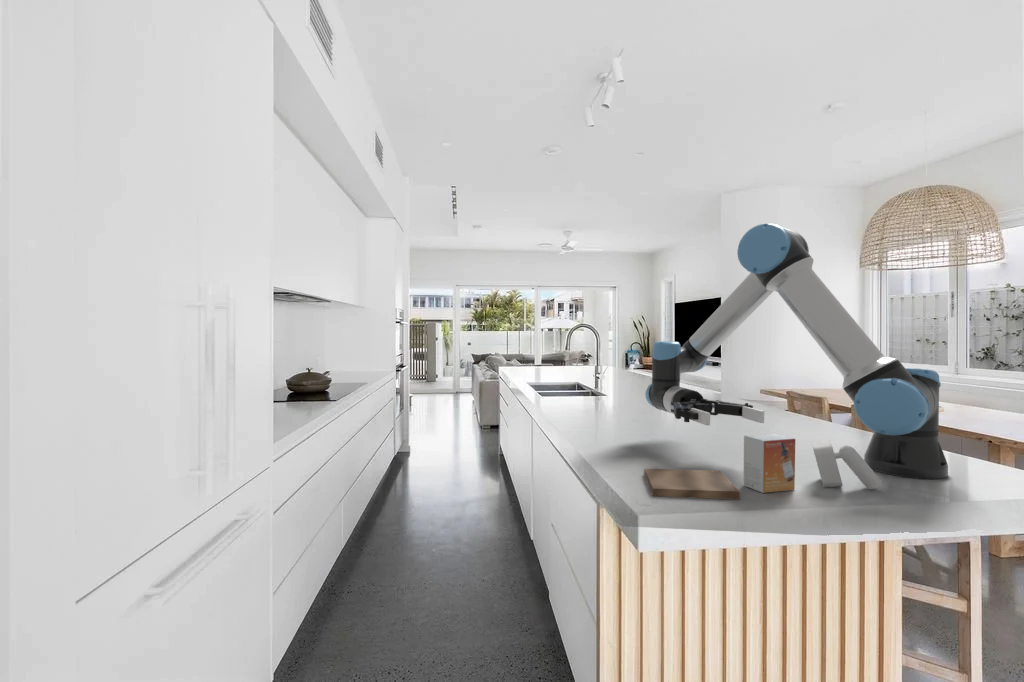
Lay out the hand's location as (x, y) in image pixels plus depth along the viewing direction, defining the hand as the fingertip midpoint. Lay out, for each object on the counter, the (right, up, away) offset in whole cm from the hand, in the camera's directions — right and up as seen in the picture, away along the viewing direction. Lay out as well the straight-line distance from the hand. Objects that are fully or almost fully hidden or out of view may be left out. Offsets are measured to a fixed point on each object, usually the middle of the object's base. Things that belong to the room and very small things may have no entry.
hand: (736, 418), depth 113 cm
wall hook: (+19, -13, -9) cm, 24 cm away
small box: (+2, -13, -9) cm, 16 cm away
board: (-14, -13, -8) cm, 20 cm away
